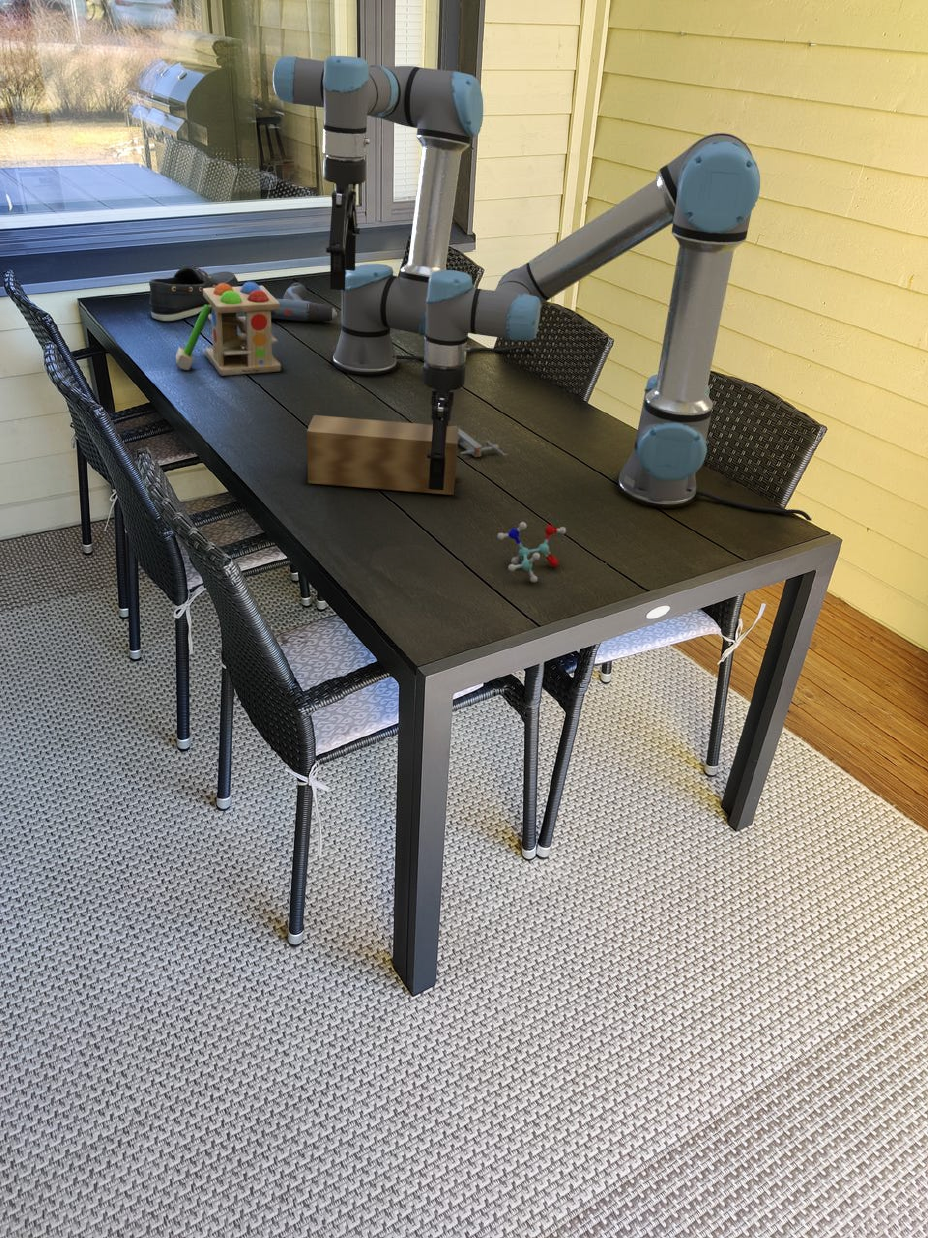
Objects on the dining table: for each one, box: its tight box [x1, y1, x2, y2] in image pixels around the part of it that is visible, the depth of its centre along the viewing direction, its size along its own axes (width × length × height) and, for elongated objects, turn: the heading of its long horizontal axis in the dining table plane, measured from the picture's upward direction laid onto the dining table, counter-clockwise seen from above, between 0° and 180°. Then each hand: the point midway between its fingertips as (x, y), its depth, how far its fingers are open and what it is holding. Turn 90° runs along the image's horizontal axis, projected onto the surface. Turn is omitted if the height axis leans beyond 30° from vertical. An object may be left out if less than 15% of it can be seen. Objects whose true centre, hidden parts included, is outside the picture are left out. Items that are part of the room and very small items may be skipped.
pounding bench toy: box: [174, 281, 282, 377], centre depth 225 cm, size 23×14×18 cm, turn 116°
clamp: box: [452, 425, 508, 459], centre depth 202 cm, size 15×2×10 cm
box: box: [306, 414, 460, 496], centre depth 184 cm, size 27×8×10 cm, turn 88°
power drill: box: [271, 282, 338, 322], centre depth 265 cm, size 5×19×20 cm
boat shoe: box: [148, 265, 240, 322], centre depth 262 cm, size 13×33×10 cm, turn 147°
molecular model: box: [496, 521, 567, 583], centre depth 163 cm, size 12×10×10 cm
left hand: (343, 279), depth 185 cm, fingers open, 13 cm apart
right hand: (437, 478), depth 187 cm, fingers closed on box, 8 cm apart
